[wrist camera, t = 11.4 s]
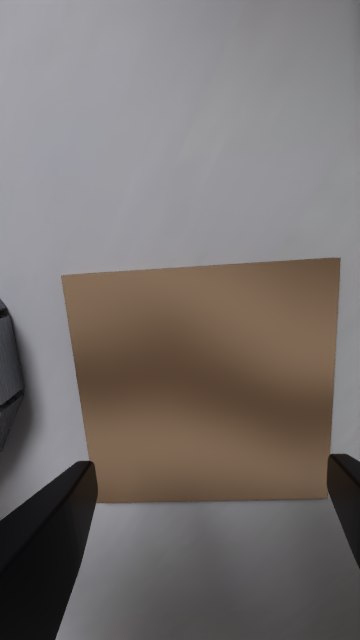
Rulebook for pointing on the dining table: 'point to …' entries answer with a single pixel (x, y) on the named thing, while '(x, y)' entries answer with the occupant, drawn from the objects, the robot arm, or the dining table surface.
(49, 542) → the robot arm
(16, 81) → the dining table surface
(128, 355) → the walnut pad
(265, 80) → the dining table surface
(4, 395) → the collar
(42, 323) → the dining table surface
